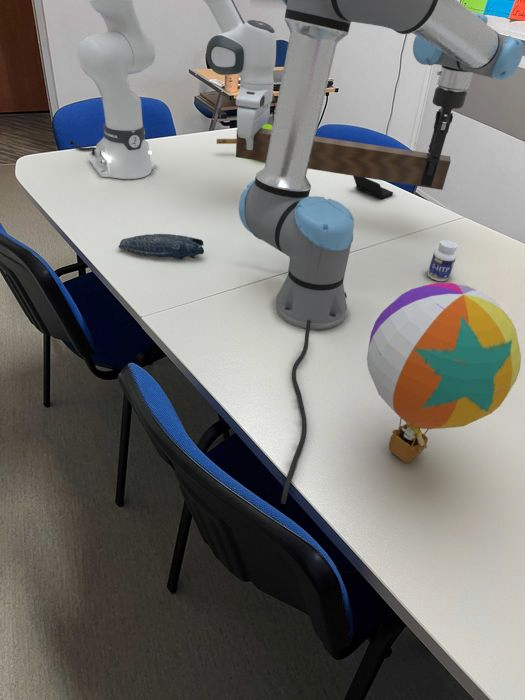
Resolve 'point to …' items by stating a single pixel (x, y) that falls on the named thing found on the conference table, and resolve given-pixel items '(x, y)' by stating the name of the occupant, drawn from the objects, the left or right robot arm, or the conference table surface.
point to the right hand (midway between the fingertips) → (426, 181)
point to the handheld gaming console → (371, 187)
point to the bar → (357, 159)
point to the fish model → (163, 246)
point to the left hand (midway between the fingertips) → (252, 146)
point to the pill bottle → (442, 261)
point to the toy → (441, 360)
